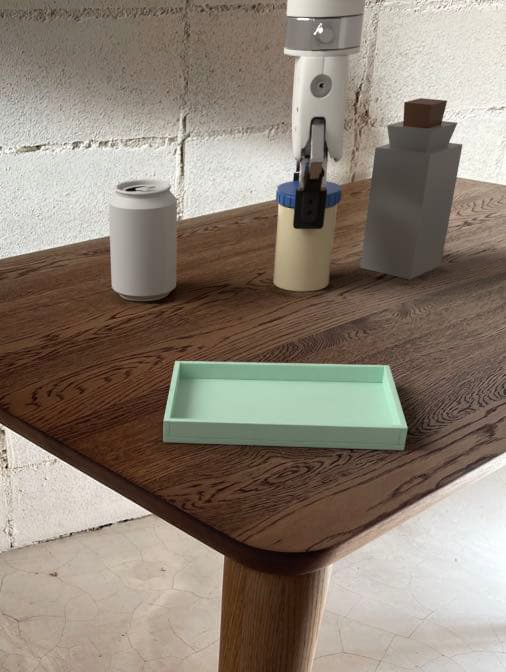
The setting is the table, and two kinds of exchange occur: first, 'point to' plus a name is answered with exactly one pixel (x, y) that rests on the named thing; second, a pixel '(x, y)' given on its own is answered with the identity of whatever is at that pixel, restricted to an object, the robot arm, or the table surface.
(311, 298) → the table surface
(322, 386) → the tray
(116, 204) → the can
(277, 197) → the jar lid
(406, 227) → the perfume bottle
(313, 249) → the jam jar
